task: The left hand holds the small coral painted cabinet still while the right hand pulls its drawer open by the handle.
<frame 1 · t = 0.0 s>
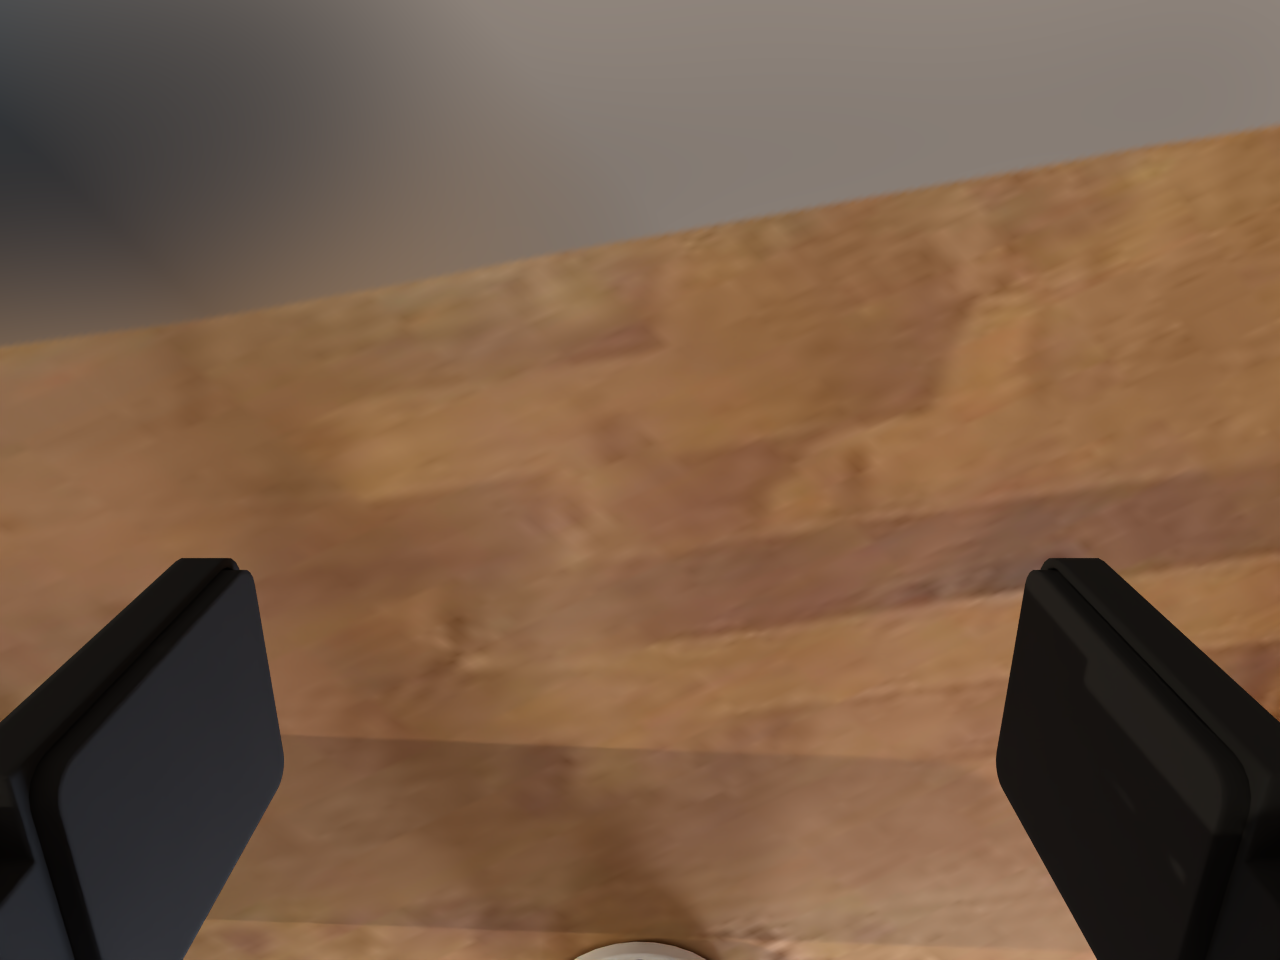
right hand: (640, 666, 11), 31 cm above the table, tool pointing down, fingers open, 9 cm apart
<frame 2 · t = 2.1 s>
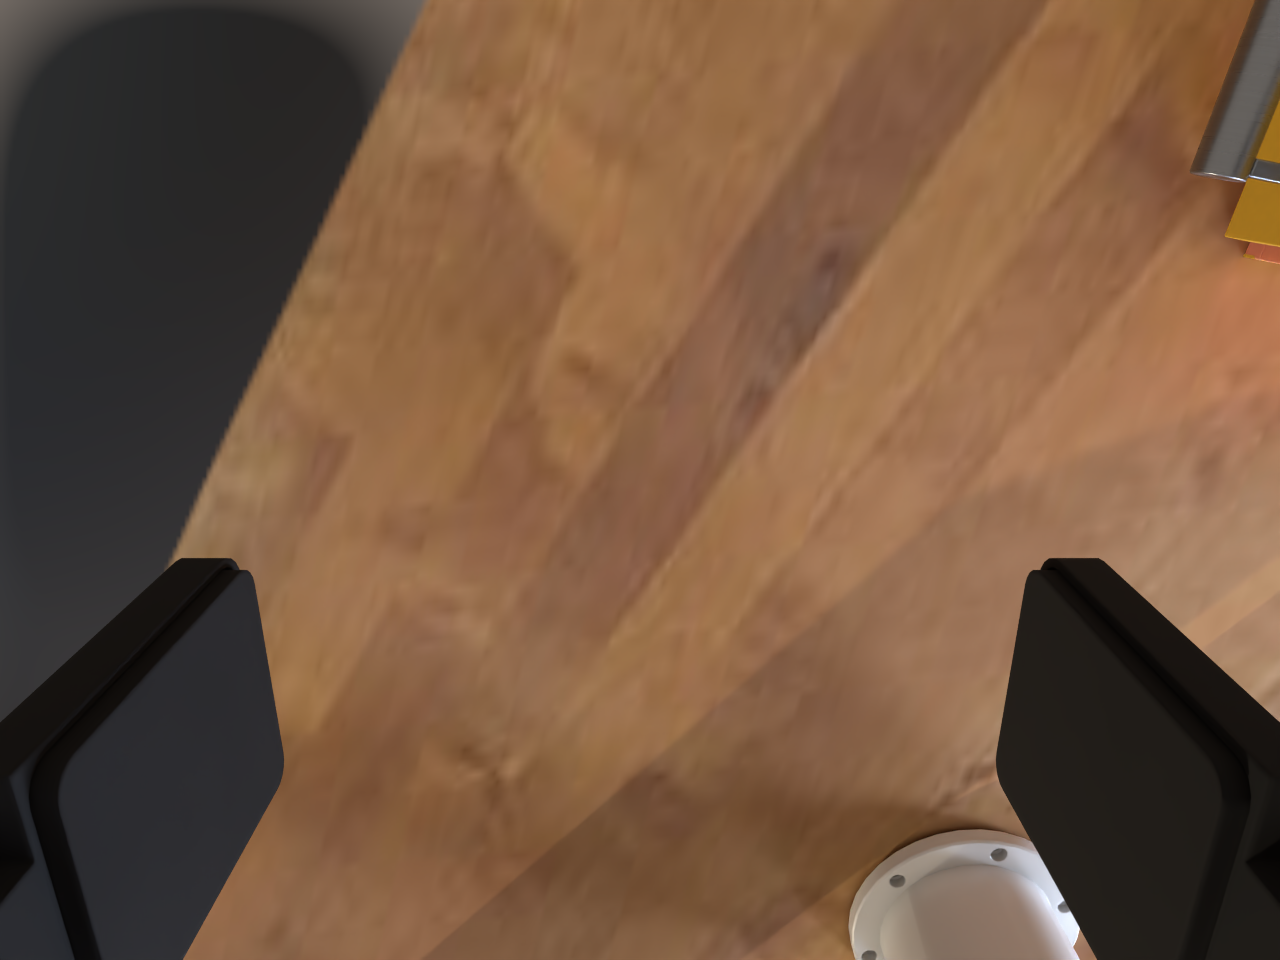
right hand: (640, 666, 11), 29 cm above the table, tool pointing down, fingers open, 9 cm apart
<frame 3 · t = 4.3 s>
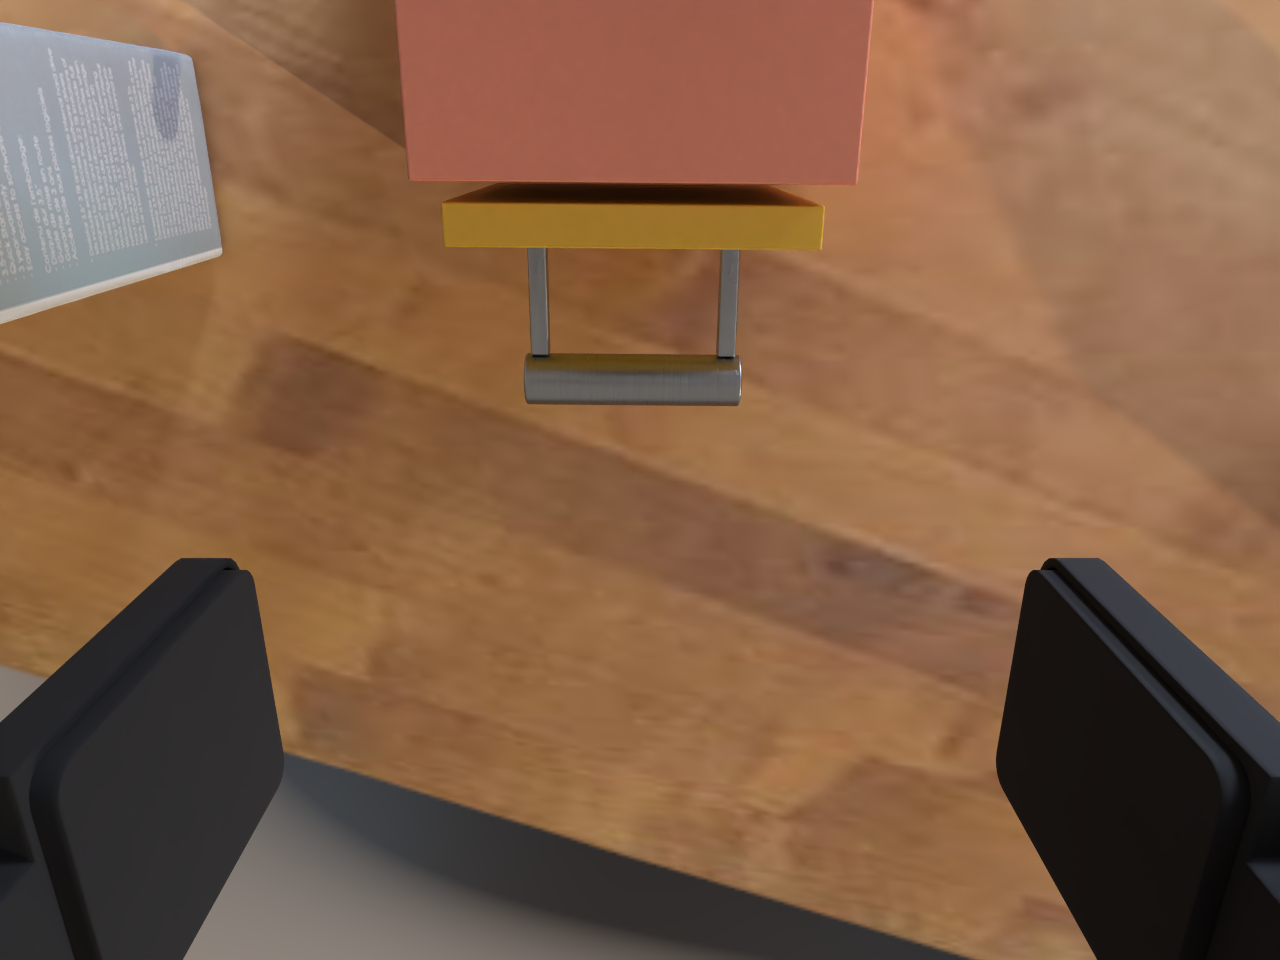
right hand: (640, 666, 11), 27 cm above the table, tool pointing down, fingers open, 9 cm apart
hard drive box: (18, 158, 35), on the table
drawer: (635, 69, 28), point 6 cm above the table, slide at 0.6 cm
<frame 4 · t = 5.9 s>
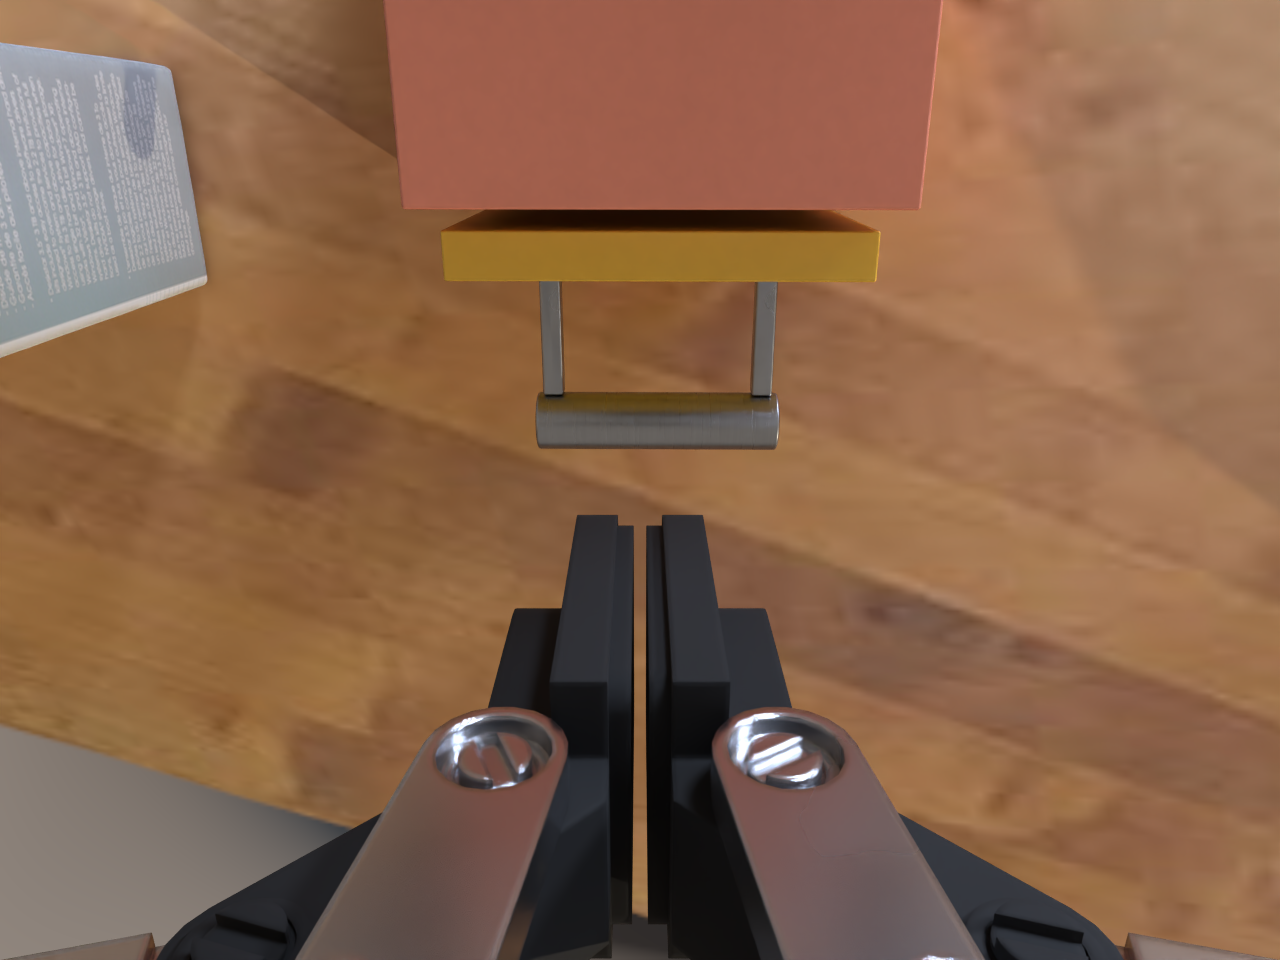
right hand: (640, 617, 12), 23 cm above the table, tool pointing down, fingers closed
drawer: (659, 75, 25), point 6 cm above the table, slide at 0.6 cm
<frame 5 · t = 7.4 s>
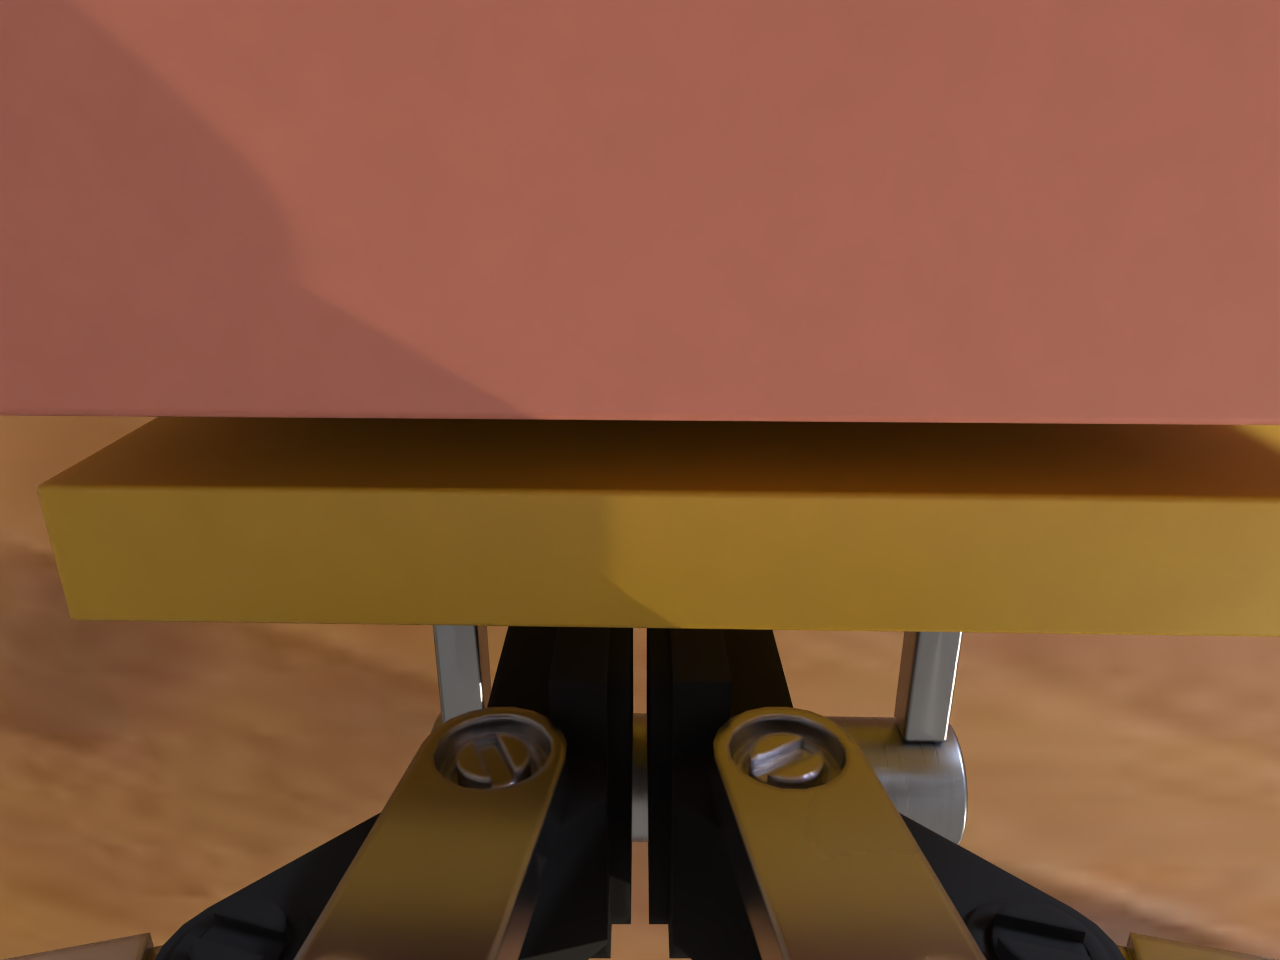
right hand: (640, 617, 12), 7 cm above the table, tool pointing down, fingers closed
drawer: (706, 20, 10), point 6 cm above the table, slide at 0.9 cm, touching right hand
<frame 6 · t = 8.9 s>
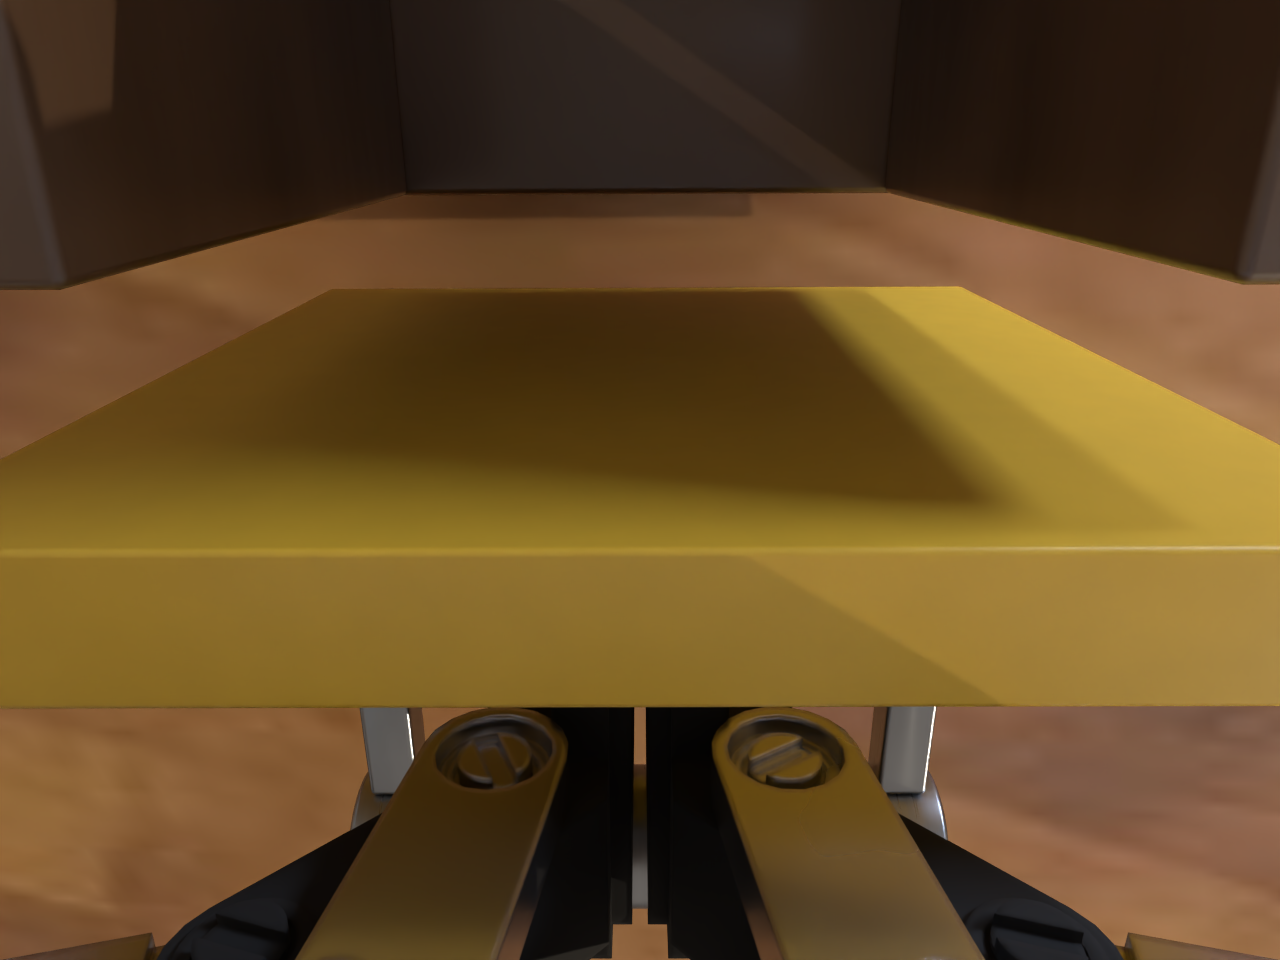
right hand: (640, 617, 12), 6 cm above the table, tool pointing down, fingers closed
drawer: (646, 0, 9), point 6 cm above the table, slide at 8.8 cm, touching right hand
when the left hand's fingers open (8 cm above the table, at t = 11.0 s): cabinet stays where it is, on the table.
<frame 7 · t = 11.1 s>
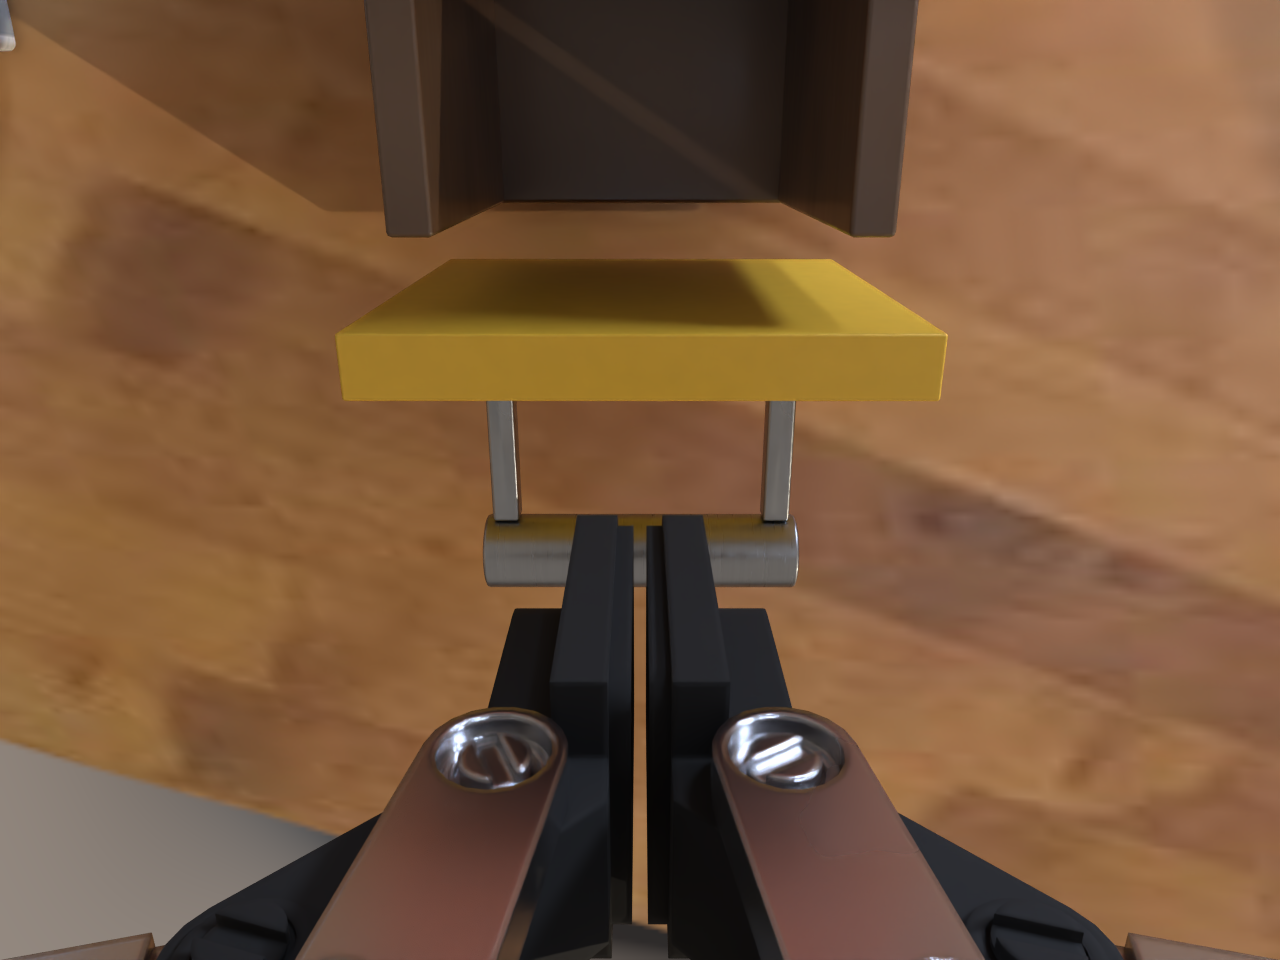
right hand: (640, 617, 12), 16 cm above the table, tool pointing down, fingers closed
drawer: (641, 110, 19), point 6 cm above the table, slide at 8.7 cm
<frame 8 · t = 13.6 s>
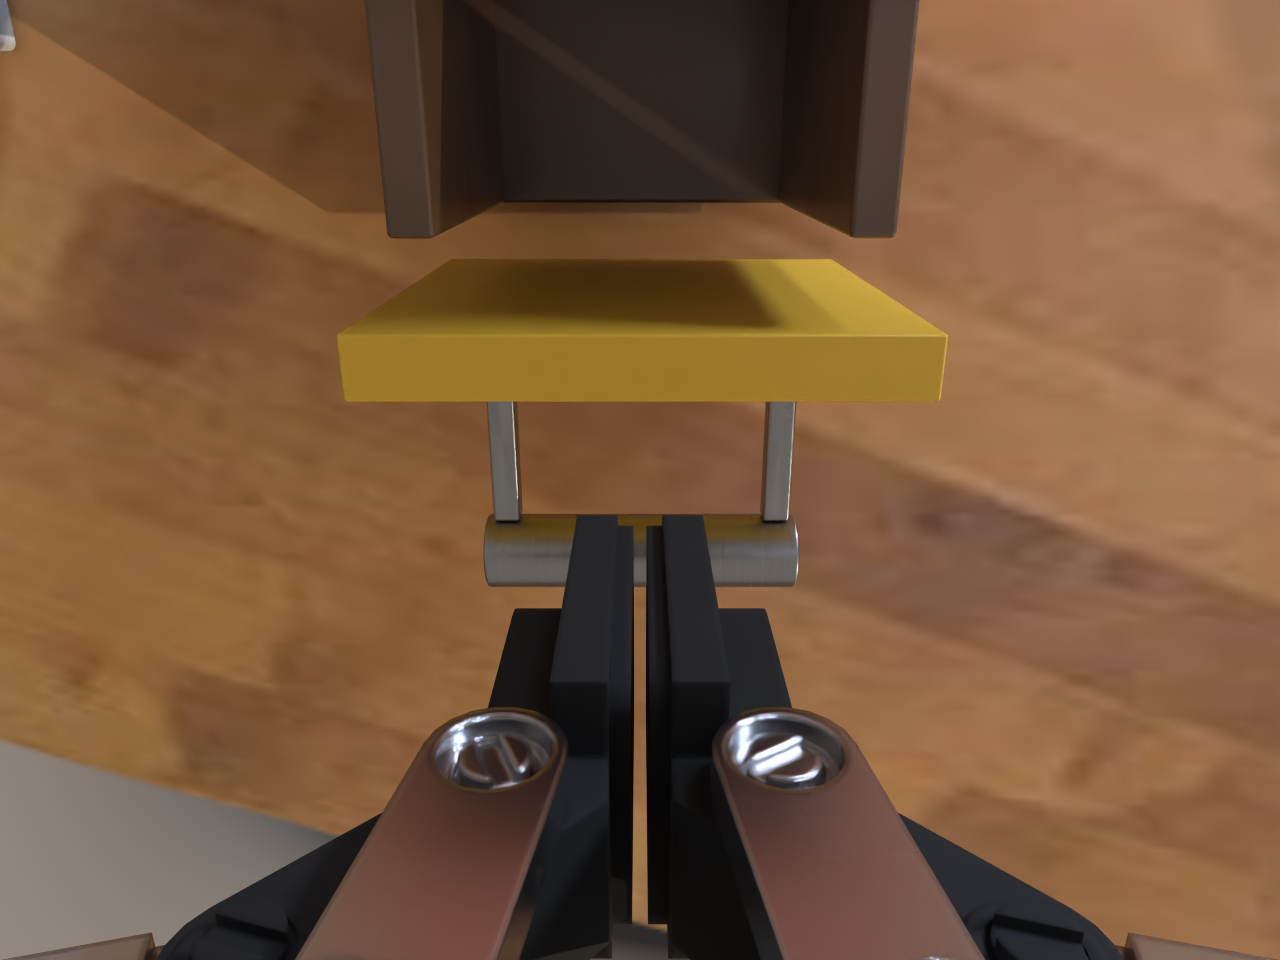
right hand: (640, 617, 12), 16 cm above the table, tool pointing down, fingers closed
drawer: (641, 111, 19), point 6 cm above the table, slide at 8.7 cm
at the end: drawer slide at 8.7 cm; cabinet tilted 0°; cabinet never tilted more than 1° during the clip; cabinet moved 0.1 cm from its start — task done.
